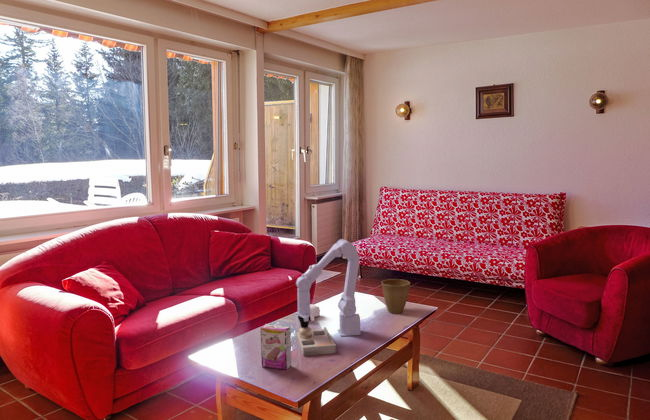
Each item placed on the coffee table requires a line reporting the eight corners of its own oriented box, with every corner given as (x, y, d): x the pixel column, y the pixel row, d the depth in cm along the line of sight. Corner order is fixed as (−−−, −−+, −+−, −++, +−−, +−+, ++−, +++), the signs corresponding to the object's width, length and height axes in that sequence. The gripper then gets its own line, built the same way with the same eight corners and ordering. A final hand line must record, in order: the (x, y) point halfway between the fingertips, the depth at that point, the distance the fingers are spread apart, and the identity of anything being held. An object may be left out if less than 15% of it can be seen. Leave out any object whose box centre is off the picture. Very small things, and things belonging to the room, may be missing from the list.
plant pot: (412, 315, 262) (412, 285, 260) (383, 316, 262) (383, 286, 260) (407, 307, 277) (407, 278, 275) (380, 307, 277) (380, 278, 275)
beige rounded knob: (310, 334, 233) (310, 326, 233) (312, 338, 228) (312, 330, 228) (299, 334, 233) (298, 327, 232) (300, 339, 227) (300, 331, 227)
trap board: (325, 333, 240) (325, 326, 239) (336, 352, 216) (336, 345, 216) (296, 335, 237) (296, 328, 237) (303, 355, 214) (303, 347, 213)
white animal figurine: (306, 320, 268) (292, 318, 255) (308, 304, 269) (295, 301, 256) (320, 322, 264) (307, 320, 251) (323, 306, 266) (310, 303, 253)
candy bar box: (261, 367, 203) (259, 327, 201) (266, 362, 208) (265, 323, 206) (287, 370, 200) (285, 330, 198) (291, 365, 204) (290, 326, 202)
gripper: (293, 299, 239) (293, 327, 241) (297, 308, 225) (297, 338, 227) (308, 298, 240) (308, 325, 242) (312, 307, 226) (313, 336, 228)
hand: (304, 331), depth 234 cm, fingers closed
